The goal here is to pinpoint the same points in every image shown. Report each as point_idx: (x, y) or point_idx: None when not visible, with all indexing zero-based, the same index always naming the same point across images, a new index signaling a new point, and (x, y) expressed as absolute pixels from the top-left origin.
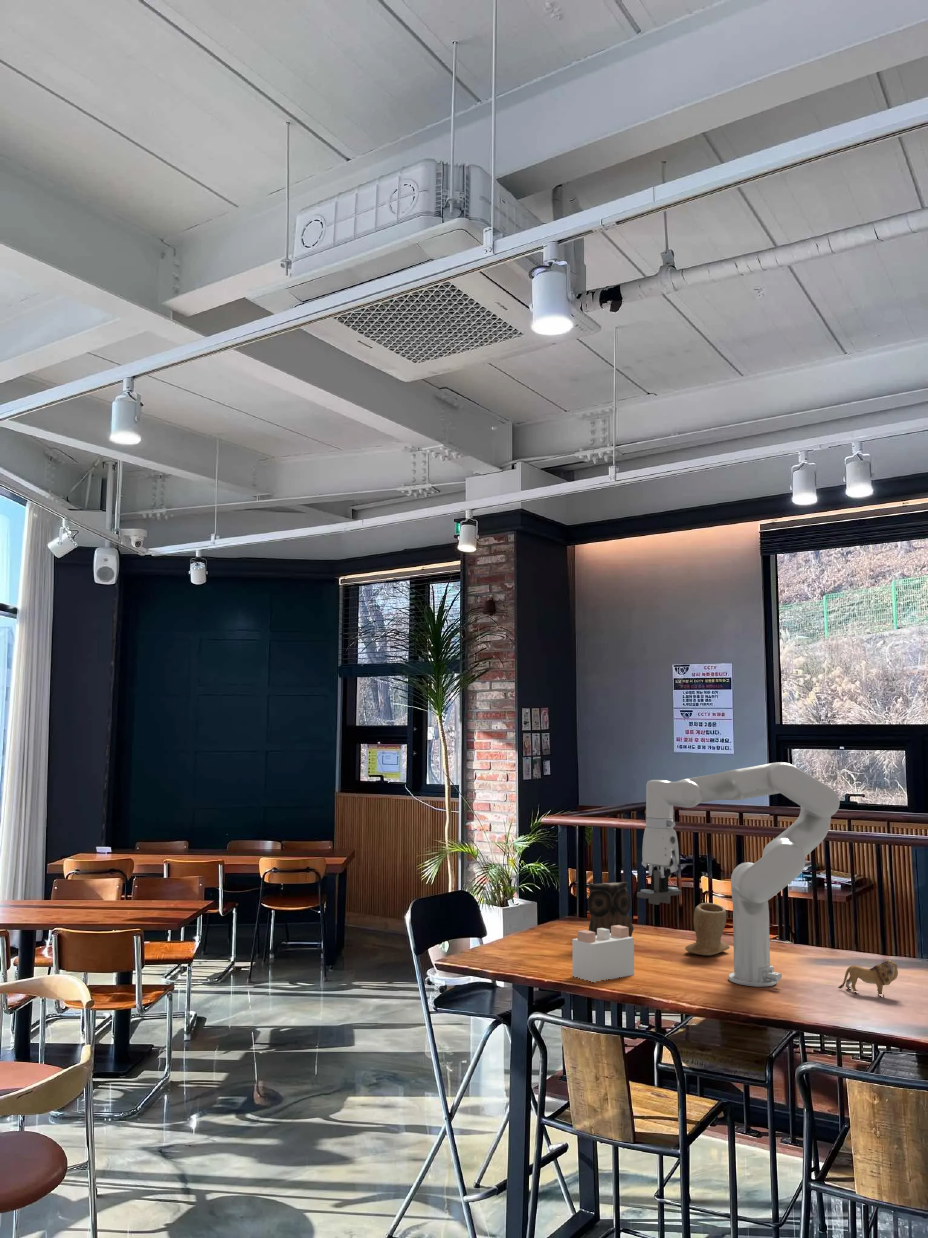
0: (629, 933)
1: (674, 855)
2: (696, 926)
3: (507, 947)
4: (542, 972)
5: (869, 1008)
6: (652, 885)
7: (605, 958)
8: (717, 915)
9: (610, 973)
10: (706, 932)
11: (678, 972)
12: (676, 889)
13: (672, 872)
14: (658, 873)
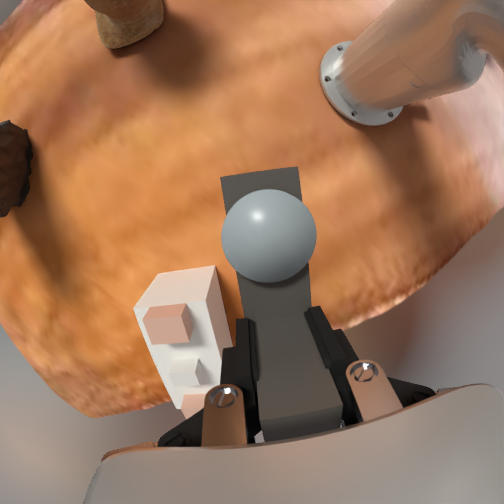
0: (15, 134)
1: (499, 473)
2: (112, 11)
3: (16, 327)
4: (149, 380)
5: (496, 94)
6: None
7: None
8: None
9: (227, 331)
10: (141, 2)
11: (234, 158)
12: (315, 231)
13: (423, 389)
14: None
